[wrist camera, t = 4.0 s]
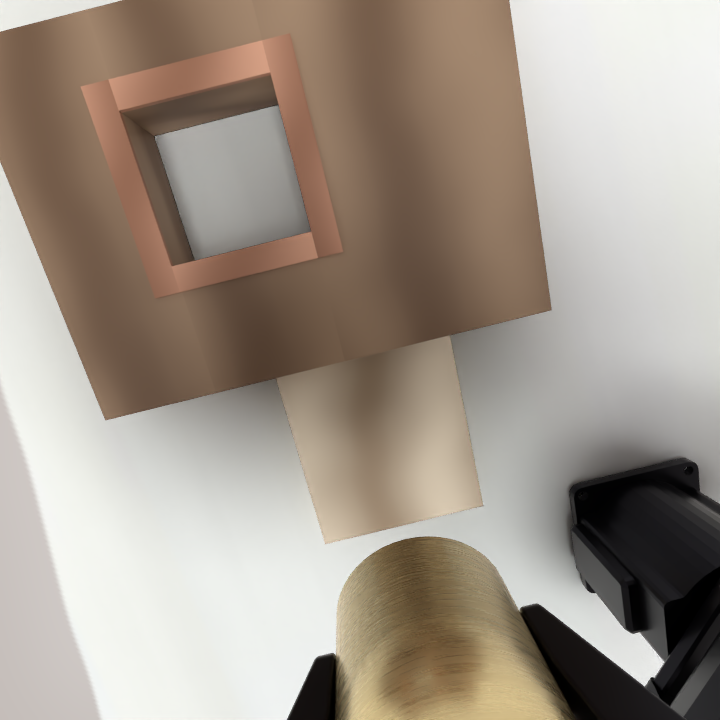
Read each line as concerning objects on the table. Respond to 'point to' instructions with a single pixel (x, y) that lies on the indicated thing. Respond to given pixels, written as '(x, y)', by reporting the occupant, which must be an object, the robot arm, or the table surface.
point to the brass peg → (437, 641)
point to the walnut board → (296, 253)
